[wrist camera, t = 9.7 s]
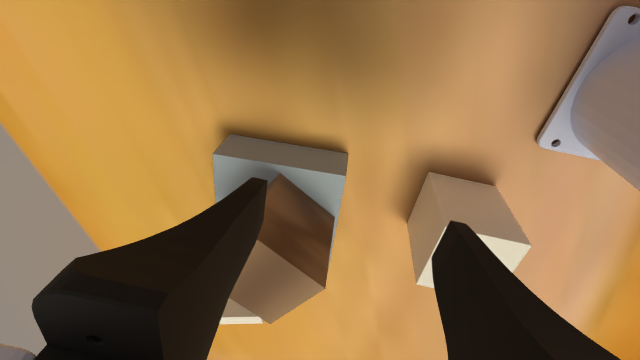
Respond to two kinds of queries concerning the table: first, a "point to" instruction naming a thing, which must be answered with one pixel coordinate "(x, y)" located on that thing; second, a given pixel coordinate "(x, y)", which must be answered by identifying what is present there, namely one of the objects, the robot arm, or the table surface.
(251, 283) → the walnut block
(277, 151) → the base block
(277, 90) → the table surface
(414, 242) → the off-white block
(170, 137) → the table surface
